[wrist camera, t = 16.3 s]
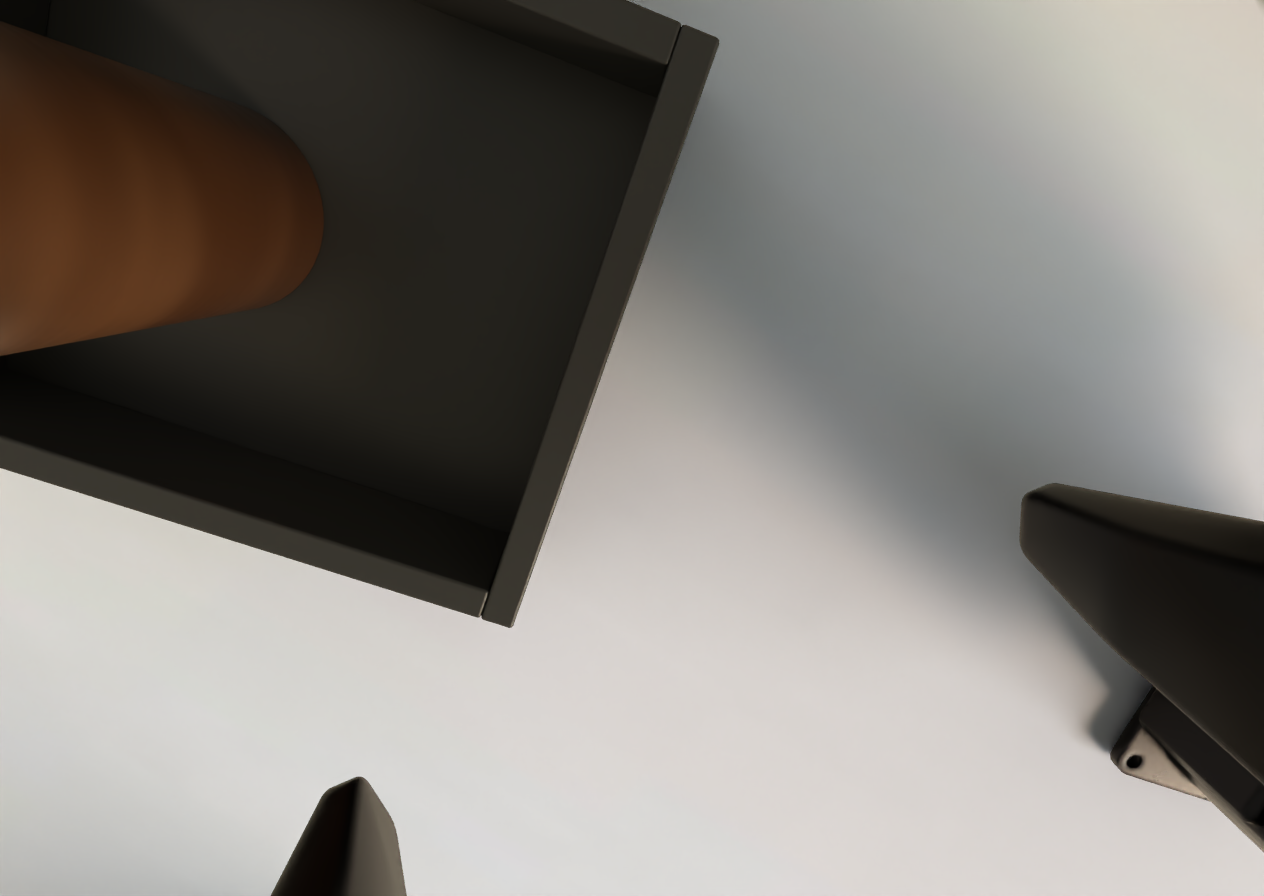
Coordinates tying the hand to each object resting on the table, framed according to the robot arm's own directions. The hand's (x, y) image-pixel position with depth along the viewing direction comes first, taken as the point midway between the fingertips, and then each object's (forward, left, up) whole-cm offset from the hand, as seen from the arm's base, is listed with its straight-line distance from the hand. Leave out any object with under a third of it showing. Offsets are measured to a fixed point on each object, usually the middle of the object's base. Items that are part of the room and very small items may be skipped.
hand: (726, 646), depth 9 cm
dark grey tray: (+10, -2, -12) cm, 15 cm away
